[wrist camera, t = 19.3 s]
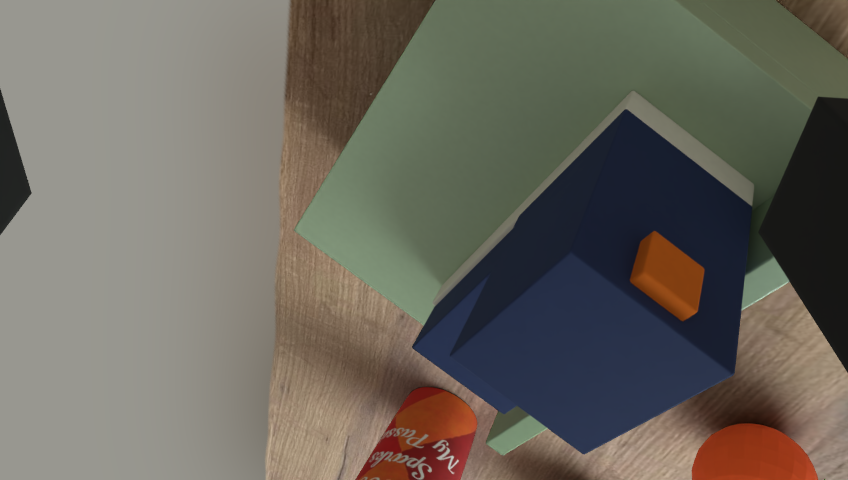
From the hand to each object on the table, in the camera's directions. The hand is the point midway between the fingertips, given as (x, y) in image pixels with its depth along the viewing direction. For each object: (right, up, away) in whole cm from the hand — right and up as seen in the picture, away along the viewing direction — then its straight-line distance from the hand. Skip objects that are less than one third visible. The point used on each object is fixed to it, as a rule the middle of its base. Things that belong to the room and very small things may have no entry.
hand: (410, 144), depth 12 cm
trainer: (+7, -2, +21) cm, 22 cm away
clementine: (+21, -14, +33) cm, 42 cm away
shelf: (+7, +4, +26) cm, 27 cm away
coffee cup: (+2, -15, +45) cm, 48 cm away
